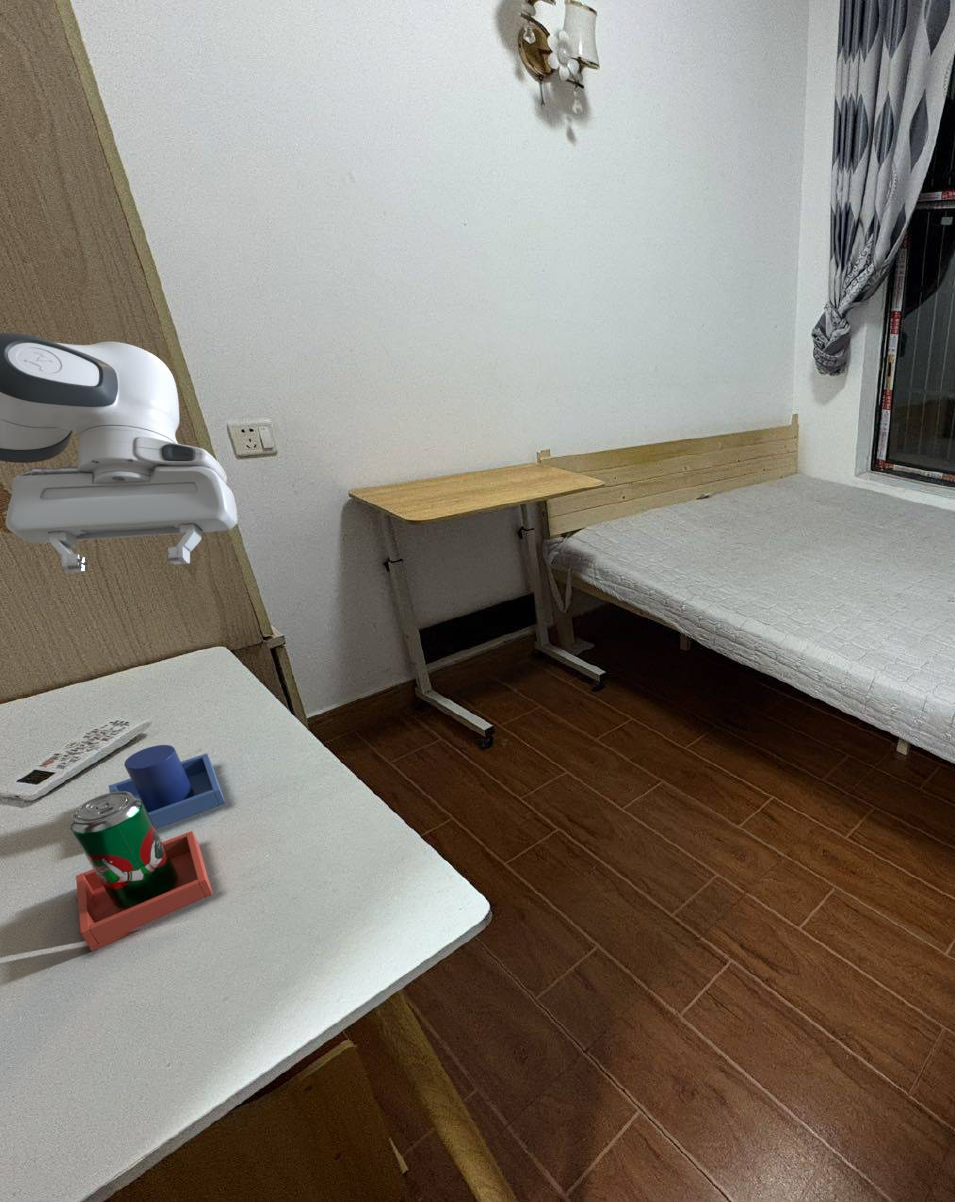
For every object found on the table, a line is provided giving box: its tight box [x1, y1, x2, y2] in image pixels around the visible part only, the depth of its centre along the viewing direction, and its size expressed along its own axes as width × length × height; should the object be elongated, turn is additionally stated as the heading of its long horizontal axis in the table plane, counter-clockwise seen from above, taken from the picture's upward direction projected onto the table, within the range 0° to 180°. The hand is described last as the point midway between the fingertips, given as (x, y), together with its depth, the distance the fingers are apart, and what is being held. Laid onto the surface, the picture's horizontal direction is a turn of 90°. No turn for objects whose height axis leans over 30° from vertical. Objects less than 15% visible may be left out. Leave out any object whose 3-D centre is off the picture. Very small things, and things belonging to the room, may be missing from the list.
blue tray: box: [108, 752, 226, 830], centre depth 80 cm, size 9×9×3 cm
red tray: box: [75, 830, 213, 952], centre depth 68 cm, size 9×9×3 cm
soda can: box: [70, 791, 178, 909], centre depth 66 cm, size 5×5×12 cm
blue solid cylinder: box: [124, 744, 194, 812], centre depth 79 cm, size 4×4×7 cm
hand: (128, 566), depth 78 cm, fingers open, 8 cm apart
